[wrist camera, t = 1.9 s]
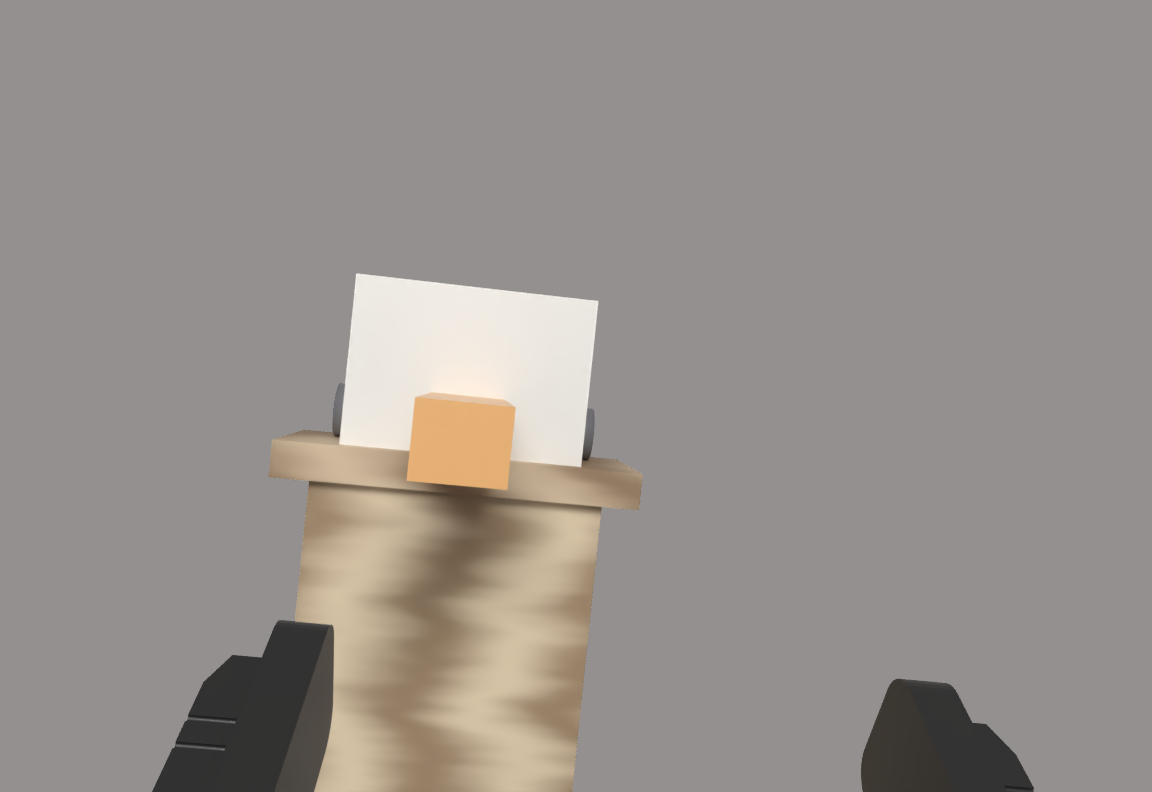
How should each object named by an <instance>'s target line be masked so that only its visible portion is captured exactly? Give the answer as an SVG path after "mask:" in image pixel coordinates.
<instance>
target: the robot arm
mask: <svg viewBox="0 0 1152 792" xmlns="http://www.w3.org/2000/svg"><path fill="white" fill-rule="evenodd" d="M333 679H334V628H333V625H328V624H317V623H306V622H295V621H284V620H279V621H278V622H277V623H276V625H275V627H274V629H273V631H272V634H271V636H270V639H269V641H268V644H267V646H266V649H265V651H264V654H263V656H262V658H259V657H248V656H237V655H232V656H231V657H230V658H229V659H228V660H227V661H226V662H225V663H224V664H223V665H221V666H220V668H218V669H217V670H216V671H215V672H214V673H213V674H212V675H211V676H210V677H208V678H207V679H206V681H204V682H203V685H202V687H201V689H200V691H199V693H198V695H197V697H196V699H195V701H194V704H193V706H192V708H191V710H190V712H189V714H188V720H187V721H185V723H184V725H183V727H182V729H181V732H180V733H179V736H178V738H177V740H176V745H175V748H173V749H172V750H171V753H170V755H169V757H168V759H167V761H166V763H165V765H164V768H163V770H162V772H161V774H160V776H159V778H158V780H157V782H156V785H155V787H154V789H153V791H152V792H314V790H315V787H316V783H317V780H318V776H319V773H320V769H321V766H322V762H323V759H324V755H325V752H326V748H327V743H328V739H329V733H330V728H331V721H332V712H333ZM861 780H862V789H863V792H1033V789H1034V787H1033V786H1032V784H1031V782H1030V780H1029V778H1028V776H1027V774H1026V773H1025V771H1024V769H1023V767H1022V765H1021V763H1020V761H1019V760H1018V758H1017V756H1016V754H1014V752H1013V751H1012V750H1011V749H1010V748H1009V747H1008V746H1007V745H1006V744H1005V743H1004V742H1003V741H1002V740H1001V739H1000V738H999V737H998V736H997V735H996V734H995V733H994V732H993V731H992V730H991V729H990V728H989V727H988V726H987V725H986V724H979V723H972V721H971V720H970V717H969V716H968V714H967V712H966V710H965V708H964V706H963V704H962V702H961V700H960V698H959V696H958V694H957V692H956V690H955V689H954V688H953V687H952V686H951V685H950V684H947V683H937V682H927V681H917V680H905V679H896V680H894V681H893V682H892V683H891V684H890V686H889V688H888V690H887V693H886V695H885V698H884V700H883V703H882V706H881V708H880V711H879V714H878V716H877V719H876V721H875V724H874V726H873V729H872V732H871V734H870V737H869V739H868V742H867V744H866V747H865V750H864V753H863V757H862V764H861Z"/></svg>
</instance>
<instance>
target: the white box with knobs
mask: <svg viewBox="0 0 1152 792" xmlns="http://www.w3.org/2000/svg"><path fill="white" fill-rule="evenodd" d="M597 308H598V301H592V300H583V299H575V298H566V297H557V296H548V295H540V294H531V293H521V292H513V291H505V290H496V289H487V288H478V287H470V286H461V285H452V284H443V283H435V282H426V281H417V280H408V279H400V278H391V277H382V276H374V275H364V274H356V283H355V293H354V303H353V313H352V322H351V332H350V342H349V352H348V362H347V372H346V381H345V384H342V383H340V384H339V385H338V388H337V392H336V396H335V402H334V410H333V435H334V436H340V440H339V444H342V445H353V446H363V447H374V448H384V449H395V450H406V451H410V452H409V461H408V471H407V481H414V482H425V483H436V484H447V485H458V486H469V487H480V488H491V489H502V490H507V487H508V478H509V468H510V460H512V461H523V462H533V463H544V464H555V465H565V466H576V467H581V463H582V460H589V458H590V454H591V450H592V444H593V436H594V410H593V409H589V408H587V405H588V395H589V386H590V376H591V366H592V357H593V347H594V337H595V327H596V318H597Z"/></svg>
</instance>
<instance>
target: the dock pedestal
mask: <svg viewBox="0 0 1152 792" xmlns="http://www.w3.org/2000/svg"><path fill="white" fill-rule="evenodd" d="M339 440H340V436H334V435H333V433H331V432H321V431H311V430H303V431H299V432H296V433H293V434H290V435H286V436H282V437H279V438H276V439H273V440H272V448H271V459H270V468H269V469H270V470H269V477H273V478H285V479H297V480H307V481H309V488H308V498H307V507H306V517H305V527H304V537H303V547H302V557H301V566H300V576H299V586H298V596H297V606H296V615H295V622H306V623H317V624H328V625H333V628H334V679H333V712H332V721H331V728H330V733H329V739H328V743H327V748H326V752H325V755H324V759H323V762H322V766H321V769H320V773H319V776H318V780H317V783H316V787H315V790H314V792H572V786H573V777H574V767H575V758H576V748H577V739H578V728H579V719H580V709H581V700H582V690H583V681H584V671H585V661H586V652H587V651H586V650H587V641H588V633H589V632H588V631H589V623H590V613H591V604H592V594H593V583H594V574H595V565H596V555H597V546H598V536H599V526H600V517H601V507H609V508H620V509H631V510H639V504H640V495H641V485H642V474H641V473H639V472H638V471H636V470H634V469H632V468H631V467H629V466H627V465H625V464H623V463H622V462H620V461H618V460H615V459H603V458H594V457H590V458H589V460H582V463H581V467H576V466H565V465H555V464H544V463H533V462H523V461H512V460H510V468H509V478H508V487H507V490H502V489H491V488H480V487H469V486H458V485H447V484H436V483H425V482H414V481H407V471H408V461H409V452H410V451H406V450H395V449H384V448H374V447H363V446H353V445H342V444H339Z"/></svg>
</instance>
